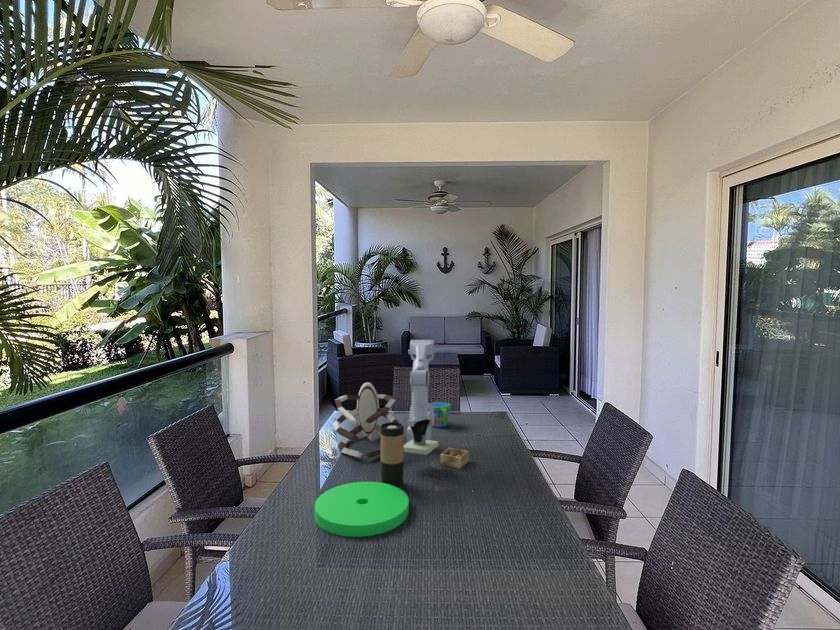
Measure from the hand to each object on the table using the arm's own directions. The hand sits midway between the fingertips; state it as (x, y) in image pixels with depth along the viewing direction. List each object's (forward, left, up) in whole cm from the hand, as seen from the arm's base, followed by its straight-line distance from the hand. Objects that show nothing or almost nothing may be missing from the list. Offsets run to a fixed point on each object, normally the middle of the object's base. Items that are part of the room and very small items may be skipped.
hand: (419, 440), depth 162 cm
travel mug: (-2, -16, -11) cm, 19 cm away
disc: (-1, -35, -11) cm, 37 cm away
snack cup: (-15, +51, -11) cm, 54 cm away
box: (+9, +11, -10) cm, 18 cm away
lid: (0, 0, -2) cm, 2 cm away
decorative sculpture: (-30, +11, -11) cm, 34 cm away
